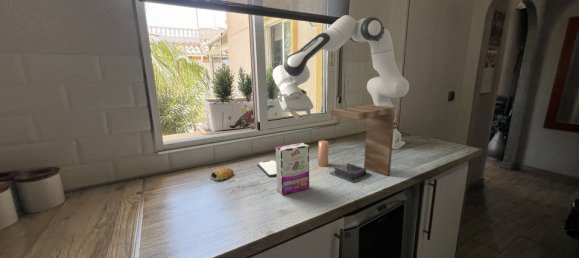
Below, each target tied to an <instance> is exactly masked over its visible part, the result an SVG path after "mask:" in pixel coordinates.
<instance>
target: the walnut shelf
mask: <svg viewBox="0 0 579 258" xmlns="http://www.w3.org/2000/svg"><path fill="white" fill-rule="evenodd" d="M395 108H396V106H395V107H388V106H378V105H374V104H363V105H355V106H349V107H341V108H334V109H330V116H331V117H333V116H334V117H339V118H346V119H351V120H352V119H353V120H364V119H366V127H365V128H366V131H365V146H364V163H363V168H365V169H366V171H370V172H373V173H376V174H379V175H383V176H386V177H388V176H390V175H391V168H392V167H391V166H392V154H393V149H392V143H393V131H394V118H395V119H396V113H395Z"/></svg>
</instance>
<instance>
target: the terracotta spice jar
mask: <svg viewBox="0 0 579 258" xmlns="http://www.w3.org/2000/svg"><path fill="white" fill-rule="evenodd" d="M329 145H330V142H329V141H328V140H318V148H317V150H318V155H317V156H318V157H317V158H318V160H317V164H318V165H317V166H319V167H320V168H326V167H328V166H329V151H330V150H329Z"/></svg>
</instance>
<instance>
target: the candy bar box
mask: <svg viewBox="0 0 579 258" xmlns="http://www.w3.org/2000/svg"><path fill="white" fill-rule="evenodd" d="M275 161H276V172H277V176H276V190H277V191H278V192H279V193H280V194H281V195H282V196H285V195H289V194H293V193H297V192H300V191H305V190H308V189H310V145H309V144H307V143H304V142H299V143H294V144H286V145H281V146H275Z"/></svg>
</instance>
